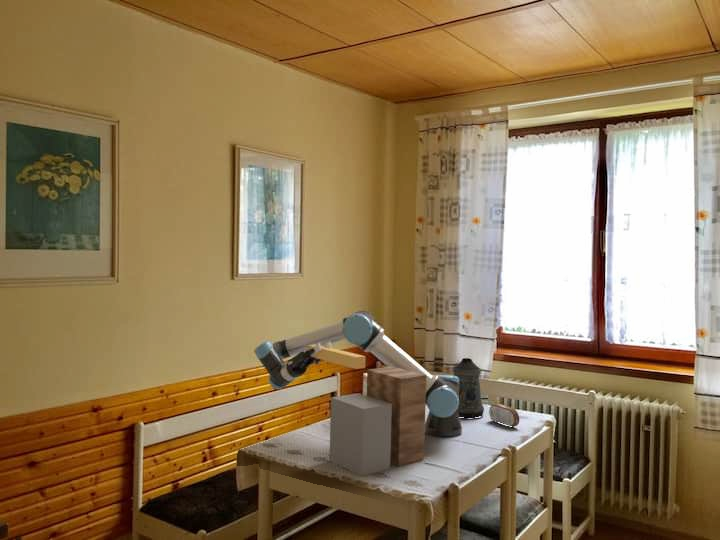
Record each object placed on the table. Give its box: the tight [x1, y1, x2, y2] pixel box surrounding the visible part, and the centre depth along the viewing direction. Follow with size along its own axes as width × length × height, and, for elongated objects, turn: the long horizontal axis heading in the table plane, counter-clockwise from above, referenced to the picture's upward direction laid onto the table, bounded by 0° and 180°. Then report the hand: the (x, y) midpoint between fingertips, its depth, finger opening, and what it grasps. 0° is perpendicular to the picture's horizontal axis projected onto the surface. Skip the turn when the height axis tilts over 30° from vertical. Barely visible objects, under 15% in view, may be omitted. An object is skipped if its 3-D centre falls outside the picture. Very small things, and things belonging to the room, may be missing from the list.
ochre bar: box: [308, 345, 367, 370], centre depth 221 cm, size 29×4×4 cm, turn 39°
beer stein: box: [452, 357, 485, 418], centre depth 281 cm, size 16×19×25 cm
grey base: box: [329, 393, 392, 477], centre depth 211 cm, size 18×12×22 cm, turn 39°
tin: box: [488, 402, 520, 428], centre depth 265 cm, size 15×3×8 cm, turn 35°
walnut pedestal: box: [366, 366, 427, 467], centre depth 221 cm, size 18×12×30 cm, turn 39°
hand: (325, 346), depth 226 cm, fingers closed on ochre bar, 4 cm apart
